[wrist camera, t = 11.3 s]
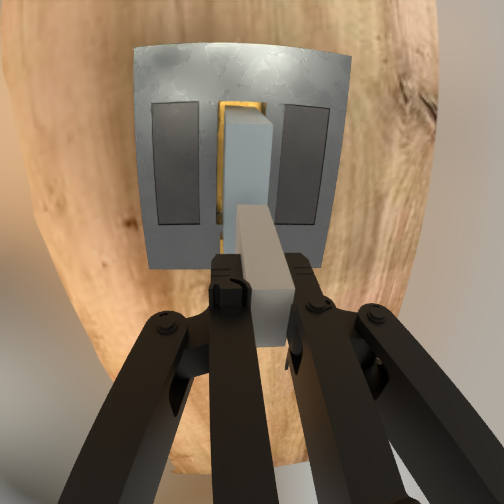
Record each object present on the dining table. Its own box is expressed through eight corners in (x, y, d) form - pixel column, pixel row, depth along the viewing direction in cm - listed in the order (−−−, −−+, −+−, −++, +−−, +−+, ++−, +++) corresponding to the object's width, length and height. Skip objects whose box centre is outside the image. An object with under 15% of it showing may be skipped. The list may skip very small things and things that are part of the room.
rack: (136, 50, 21) (123, 48, 18) (344, 58, 23) (362, 57, 20) (148, 251, 32) (141, 272, 28) (318, 250, 34) (328, 271, 30)
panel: (224, 105, 24) (226, 123, 16) (254, 106, 24) (273, 124, 16) (222, 203, 29) (223, 264, 20) (249, 203, 29) (262, 264, 21)
